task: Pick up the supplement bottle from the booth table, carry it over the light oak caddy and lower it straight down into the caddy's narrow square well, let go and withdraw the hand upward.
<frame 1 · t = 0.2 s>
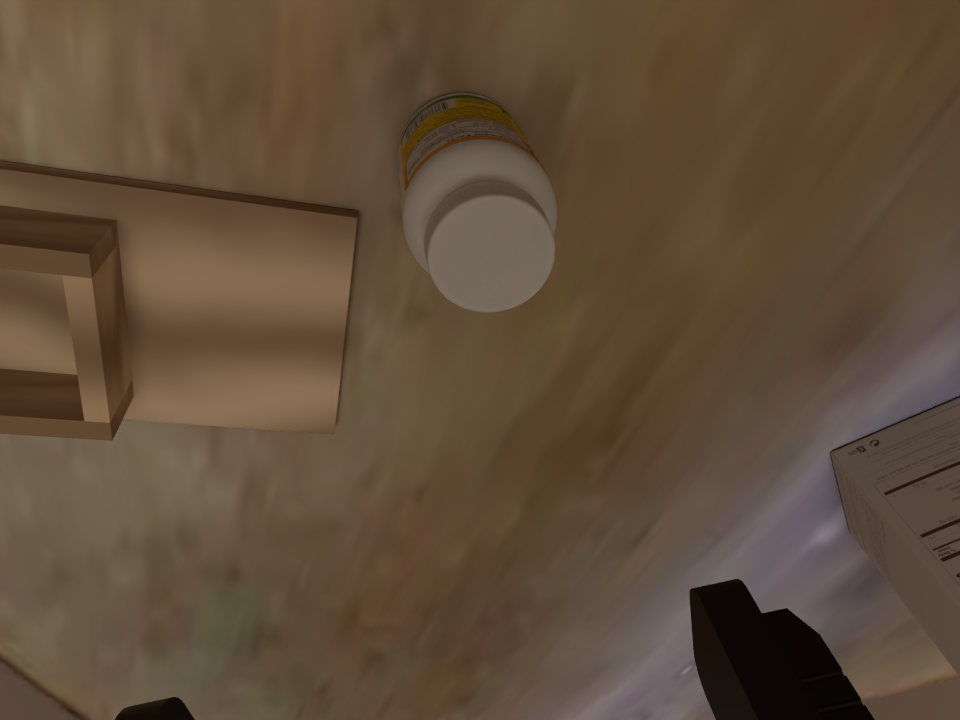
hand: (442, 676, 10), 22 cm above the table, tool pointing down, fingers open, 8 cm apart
well: (19, 294, 29), on the table
supplement bottle: (460, 155, 29), on the table
supplement box: (903, 463, 43), on the table
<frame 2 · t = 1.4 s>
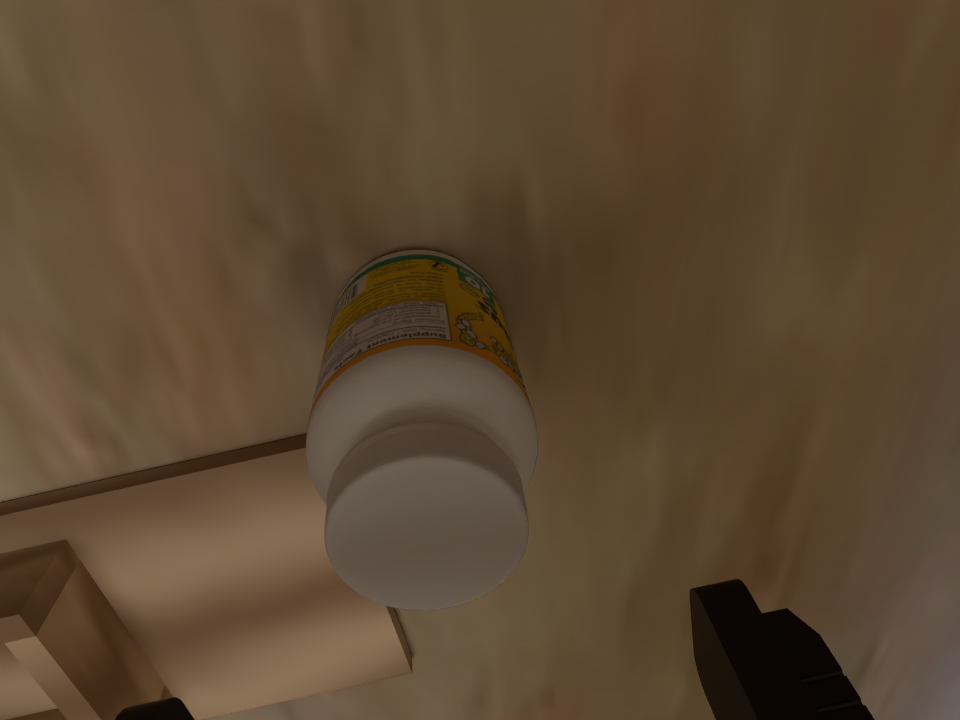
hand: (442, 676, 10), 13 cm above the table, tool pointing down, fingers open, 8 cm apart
well: (19, 634, 26), on the table
supplement bottle: (418, 323, 22), on the table
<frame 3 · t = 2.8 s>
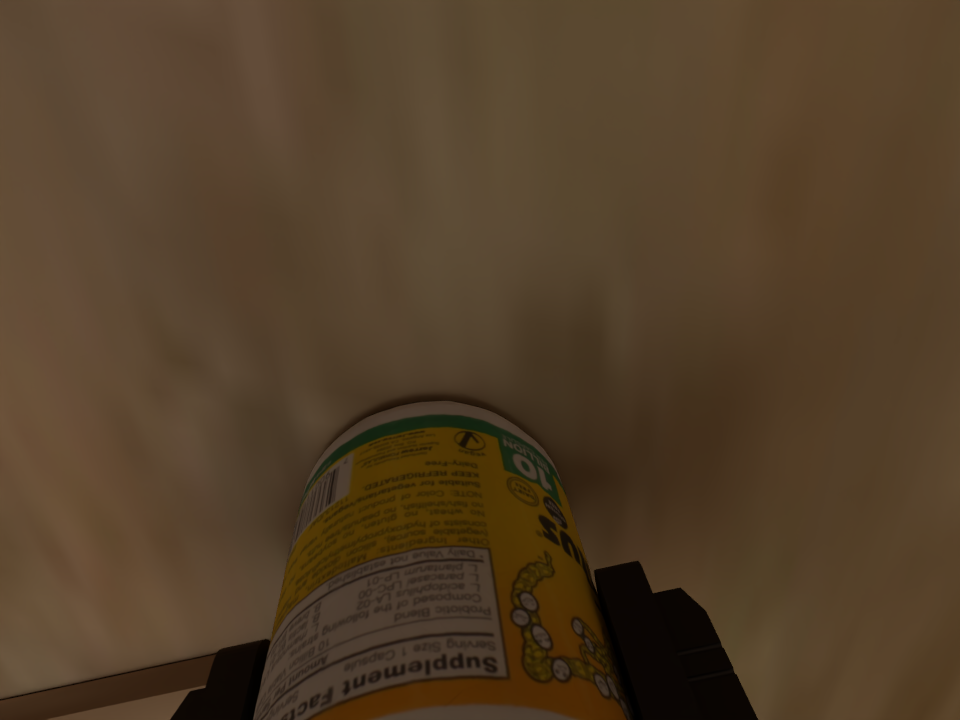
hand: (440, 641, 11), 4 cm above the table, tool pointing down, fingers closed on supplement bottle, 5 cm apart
supplement bottle: (434, 496, 14), on the table, touching gripper
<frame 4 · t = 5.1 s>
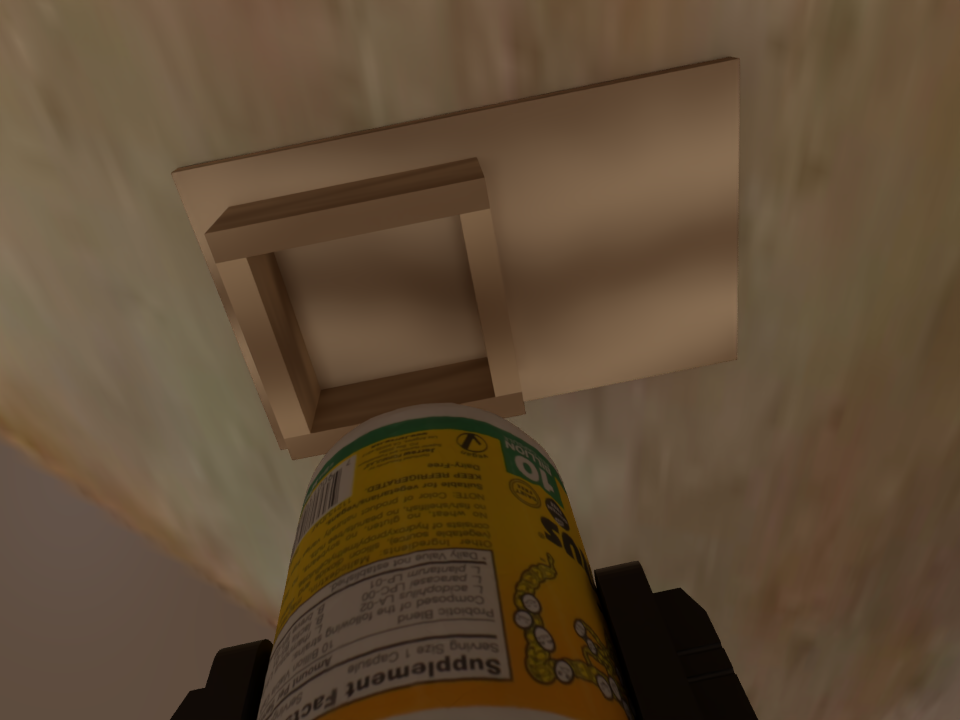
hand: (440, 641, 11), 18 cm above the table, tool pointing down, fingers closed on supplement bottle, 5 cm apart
well: (384, 288, 27), on the table
supplement bottle: (436, 497, 14), point 14 cm above the table, touching gripper
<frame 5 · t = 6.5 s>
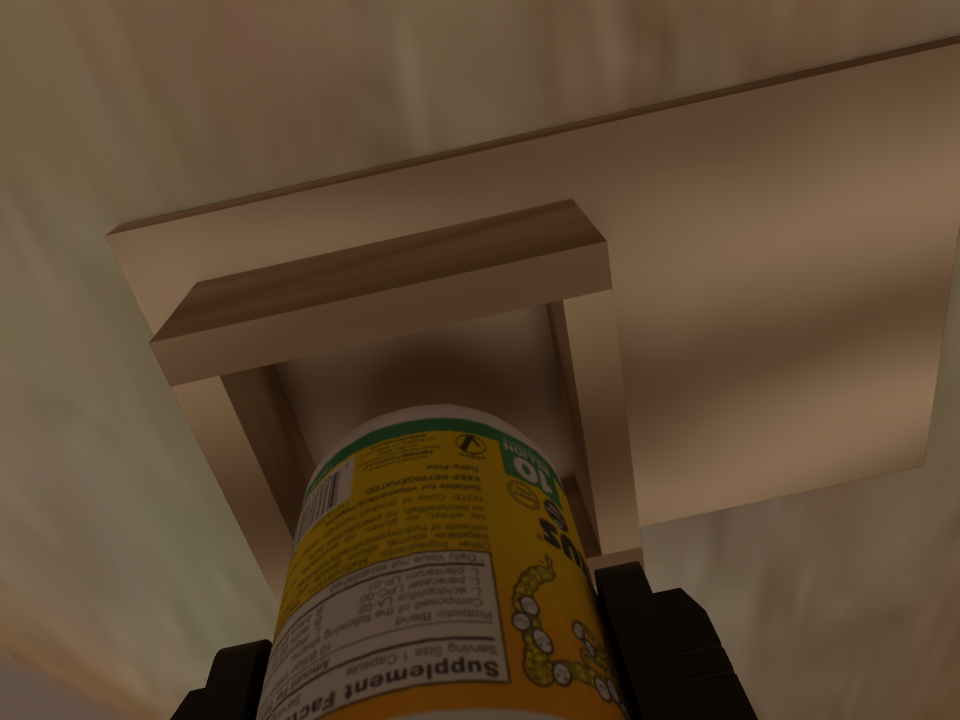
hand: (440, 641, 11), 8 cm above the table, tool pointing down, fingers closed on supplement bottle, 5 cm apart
well: (427, 385, 19), on the table
supplement bottle: (435, 498, 14), point 5 cm above the table, touching gripper
when the fingers open (5 cm above the table, at t = 7.6 s): supplement bottle drops 1 cm, resting on well.
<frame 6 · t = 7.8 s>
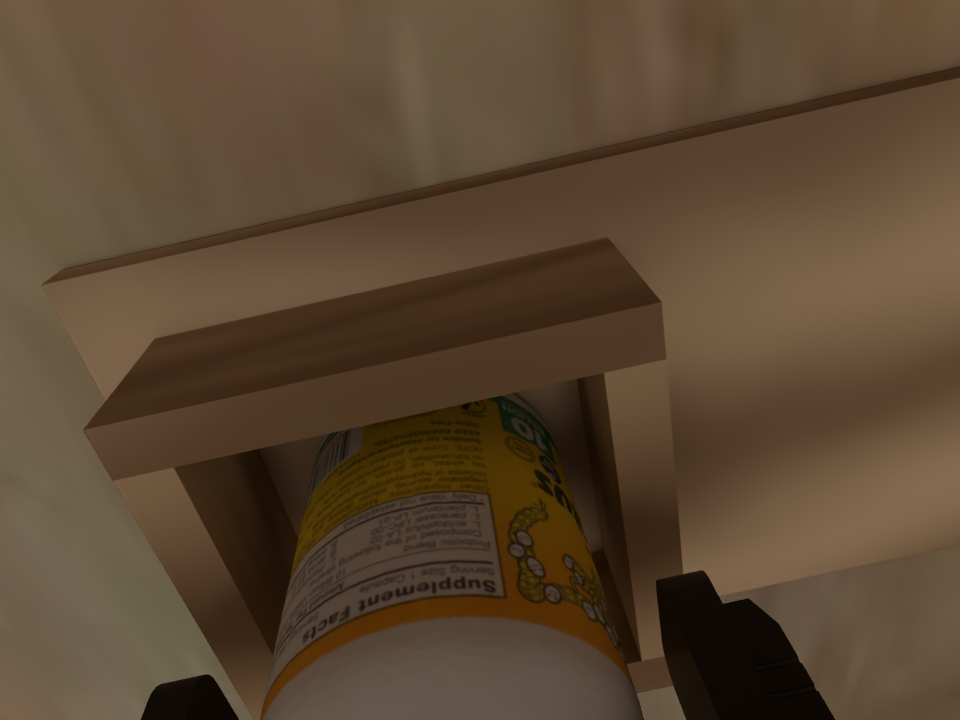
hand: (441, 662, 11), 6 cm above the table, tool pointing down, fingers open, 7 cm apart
well: (432, 449, 16), on the table
supplement bottle: (438, 462, 15), point 1 cm above the table, touching well
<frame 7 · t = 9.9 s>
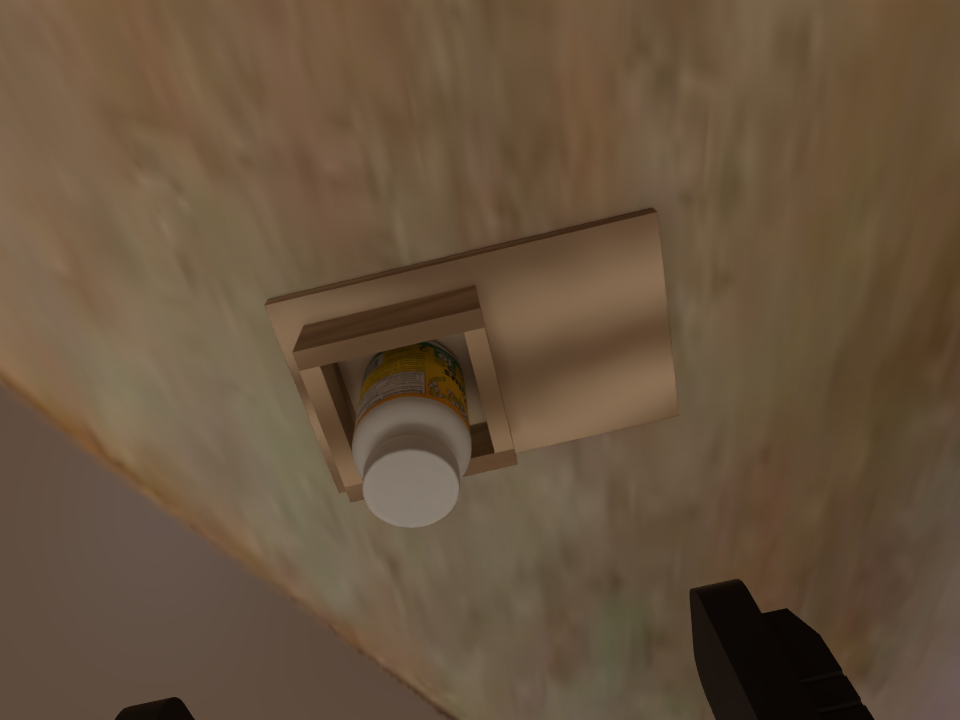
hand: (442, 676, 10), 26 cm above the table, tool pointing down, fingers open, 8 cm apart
well: (412, 374, 37), on the table
supplement bottle: (414, 378, 36), point 1 cm above the table, touching well
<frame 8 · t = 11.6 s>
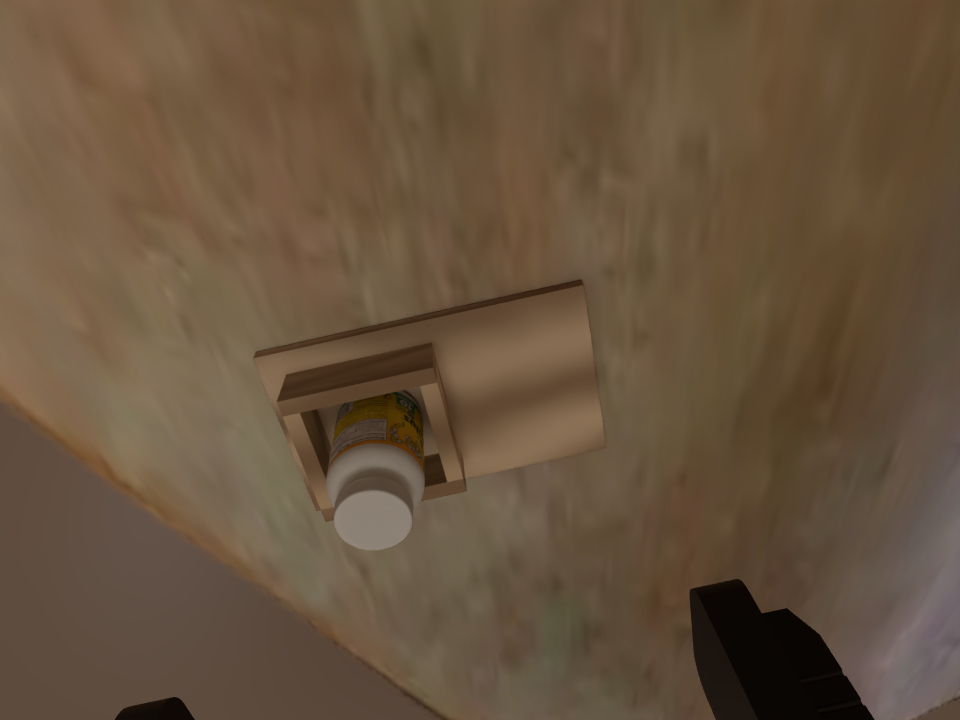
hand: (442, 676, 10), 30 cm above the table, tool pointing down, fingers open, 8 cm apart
well: (379, 412, 43), on the table
supplement bottle: (381, 417, 43), point 1 cm above the table, touching well
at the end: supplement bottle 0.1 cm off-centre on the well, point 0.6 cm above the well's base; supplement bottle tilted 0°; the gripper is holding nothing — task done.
